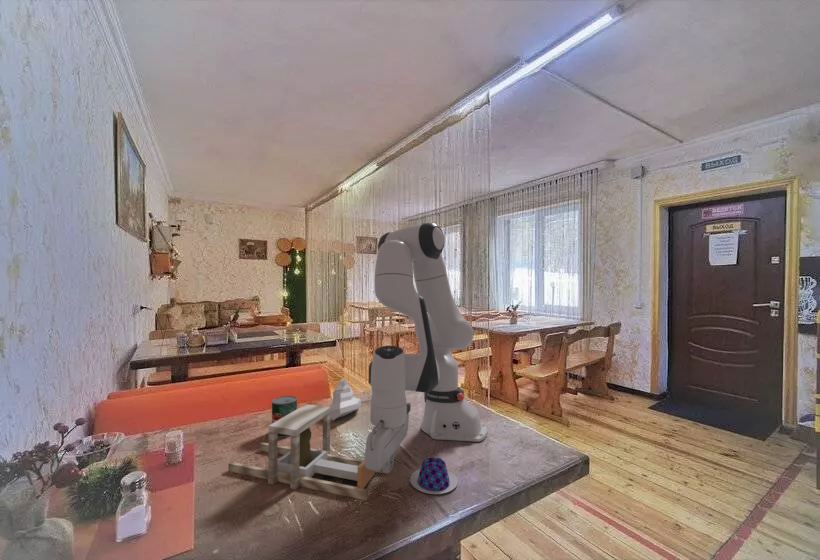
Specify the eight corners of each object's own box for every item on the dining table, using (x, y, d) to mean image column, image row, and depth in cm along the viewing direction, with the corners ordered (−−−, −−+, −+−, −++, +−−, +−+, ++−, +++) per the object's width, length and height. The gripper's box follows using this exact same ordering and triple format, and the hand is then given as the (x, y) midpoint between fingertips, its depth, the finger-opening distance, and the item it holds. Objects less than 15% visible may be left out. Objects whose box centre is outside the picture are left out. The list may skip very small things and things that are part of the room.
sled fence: (377, 471, 92) (377, 448, 92) (361, 493, 83) (361, 467, 83) (296, 456, 100) (296, 435, 100) (272, 474, 90) (273, 451, 90)
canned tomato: (266, 435, 114) (266, 401, 114) (283, 426, 121) (283, 394, 121) (285, 439, 111) (285, 405, 111) (301, 429, 118) (302, 397, 118)
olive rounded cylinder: (305, 477, 90) (306, 435, 90) (284, 475, 91) (284, 432, 91) (316, 465, 96) (317, 425, 96) (296, 463, 97) (296, 423, 97)
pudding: (412, 468, 95) (413, 449, 95) (457, 471, 94) (457, 451, 94) (407, 495, 83) (407, 473, 83) (458, 499, 82) (458, 476, 82)
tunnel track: (388, 468, 94) (389, 414, 94) (363, 504, 79) (363, 440, 79) (266, 446, 106) (266, 398, 106) (223, 474, 91) (223, 418, 91)
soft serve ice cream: (317, 422, 128) (313, 382, 132) (346, 413, 141) (342, 377, 144) (341, 421, 122) (336, 379, 125) (369, 411, 134) (364, 374, 137)
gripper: (384, 433, 75) (384, 497, 75) (412, 401, 95) (412, 452, 95) (357, 429, 77) (357, 491, 77) (390, 399, 96) (390, 449, 96)
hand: (387, 470), depth 86 cm, fingers closed
